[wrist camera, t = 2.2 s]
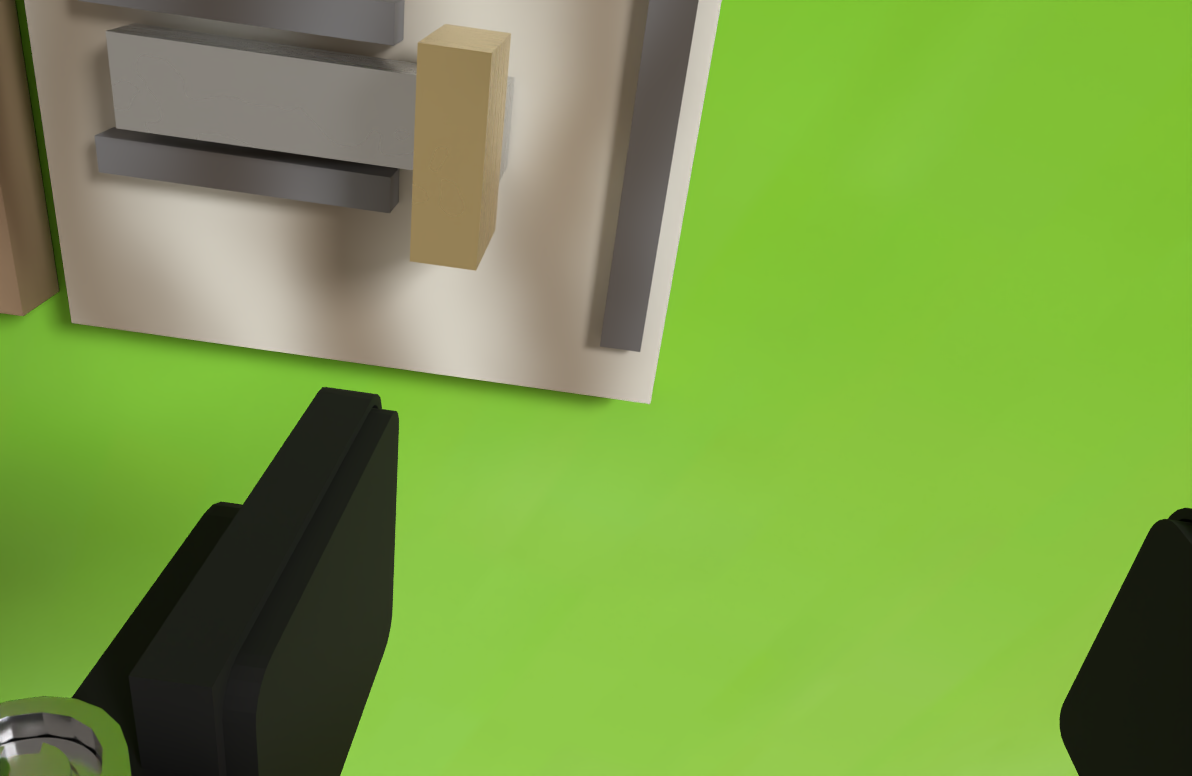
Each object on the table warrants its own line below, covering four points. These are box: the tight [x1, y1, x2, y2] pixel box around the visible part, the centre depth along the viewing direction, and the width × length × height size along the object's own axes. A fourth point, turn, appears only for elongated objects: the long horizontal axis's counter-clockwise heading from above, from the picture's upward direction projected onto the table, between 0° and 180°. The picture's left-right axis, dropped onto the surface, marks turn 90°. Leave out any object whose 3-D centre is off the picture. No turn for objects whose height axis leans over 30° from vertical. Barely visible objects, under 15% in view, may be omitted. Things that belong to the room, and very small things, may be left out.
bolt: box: [106, 23, 515, 271], centre depth 24 cm, size 10×5×4 cm, turn 83°
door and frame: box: [0, 0, 722, 404], centre depth 25 cm, size 28×16×5 cm, turn 83°
